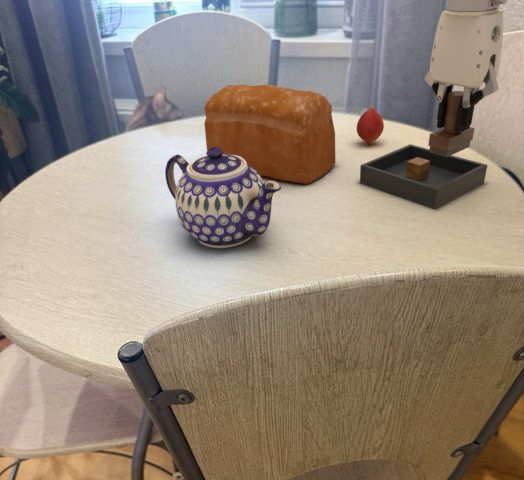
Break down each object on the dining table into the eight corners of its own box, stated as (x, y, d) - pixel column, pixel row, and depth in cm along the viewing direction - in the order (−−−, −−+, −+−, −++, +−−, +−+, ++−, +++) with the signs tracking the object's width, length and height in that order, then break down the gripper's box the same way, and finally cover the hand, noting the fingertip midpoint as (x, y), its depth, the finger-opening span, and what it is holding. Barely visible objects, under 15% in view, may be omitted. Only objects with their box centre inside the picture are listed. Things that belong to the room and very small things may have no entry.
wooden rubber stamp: (451, 141, 96) (460, 86, 90) (471, 147, 93) (481, 90, 87) (427, 152, 93) (434, 96, 87) (446, 158, 90) (455, 100, 84)
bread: (240, 147, 124) (233, 74, 114) (340, 164, 112) (342, 82, 102) (203, 168, 116) (191, 91, 106) (307, 188, 103) (304, 103, 93)
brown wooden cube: (428, 176, 101) (430, 160, 99) (418, 181, 100) (419, 165, 98) (415, 172, 103) (417, 156, 101) (405, 177, 101) (406, 161, 100)
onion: (354, 148, 118) (355, 110, 113) (358, 139, 122) (359, 102, 117) (380, 148, 117) (383, 110, 112) (383, 139, 121) (386, 102, 116)
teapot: (146, 232, 94) (126, 148, 85) (208, 201, 102) (195, 121, 93) (249, 275, 80) (238, 180, 71) (310, 236, 88) (308, 146, 79)
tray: (484, 183, 99) (487, 164, 97) (434, 209, 92) (437, 189, 90) (408, 161, 110) (410, 144, 108) (359, 182, 103) (360, 165, 101)
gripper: (538, 0, 76) (509, 132, 87) (442, -6, 86) (427, 114, 98) (508, 8, 72) (482, 145, 84) (412, 1, 82) (400, 124, 94)
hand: (452, 127), depth 91 cm, fingers closed on wooden rubber stamp, 3 cm apart
